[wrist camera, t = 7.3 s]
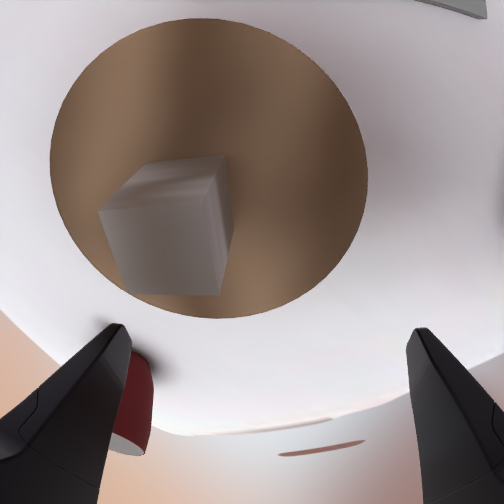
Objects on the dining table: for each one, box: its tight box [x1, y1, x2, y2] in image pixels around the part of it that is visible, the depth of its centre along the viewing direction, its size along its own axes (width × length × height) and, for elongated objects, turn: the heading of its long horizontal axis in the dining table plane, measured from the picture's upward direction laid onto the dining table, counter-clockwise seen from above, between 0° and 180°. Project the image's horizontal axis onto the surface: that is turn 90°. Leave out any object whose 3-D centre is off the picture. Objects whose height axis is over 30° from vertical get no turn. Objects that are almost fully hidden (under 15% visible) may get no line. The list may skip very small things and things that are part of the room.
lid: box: [50, 19, 368, 319], centre depth 11 cm, size 14×14×5 cm
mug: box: [108, 351, 154, 456], centre depth 26 cm, size 10×8×10 cm
